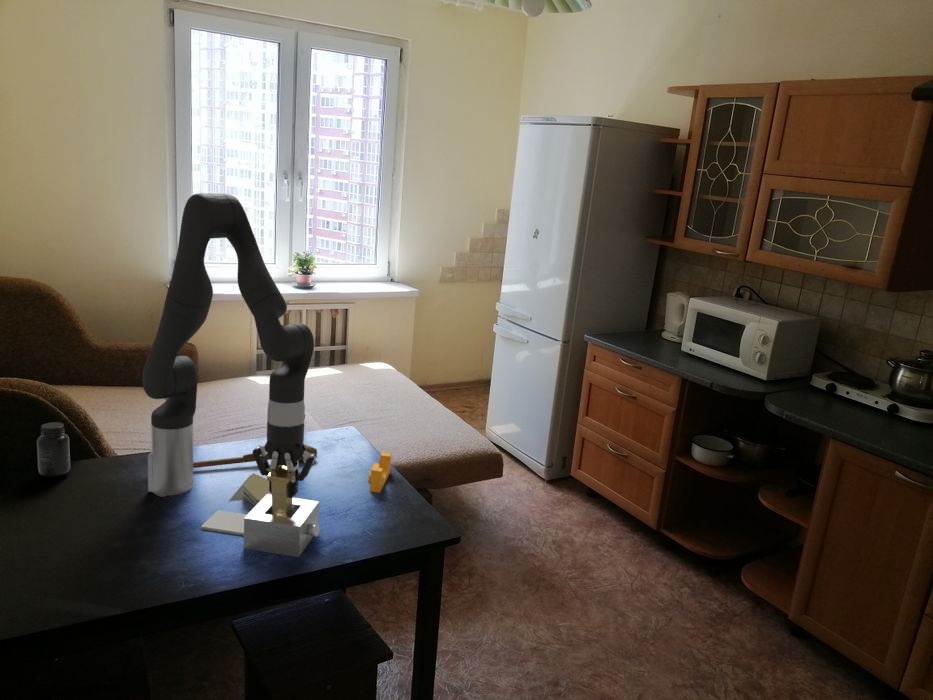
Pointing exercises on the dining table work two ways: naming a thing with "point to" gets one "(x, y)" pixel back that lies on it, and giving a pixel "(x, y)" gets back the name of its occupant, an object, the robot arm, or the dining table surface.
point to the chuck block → (281, 527)
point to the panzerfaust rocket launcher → (242, 459)
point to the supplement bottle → (53, 450)
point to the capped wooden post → (280, 491)
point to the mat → (226, 522)
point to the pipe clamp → (380, 473)
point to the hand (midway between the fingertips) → (283, 494)
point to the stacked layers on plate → (252, 490)
